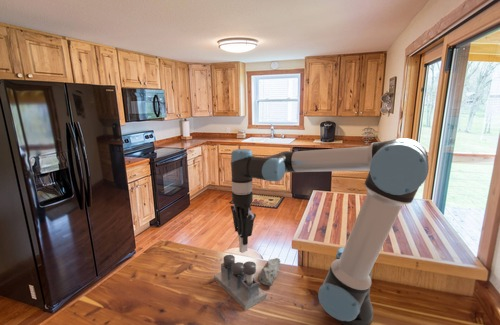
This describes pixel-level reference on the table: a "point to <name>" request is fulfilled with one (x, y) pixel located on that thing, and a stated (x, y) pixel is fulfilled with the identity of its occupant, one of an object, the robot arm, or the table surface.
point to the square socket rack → (240, 287)
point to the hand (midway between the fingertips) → (243, 250)
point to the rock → (269, 272)
